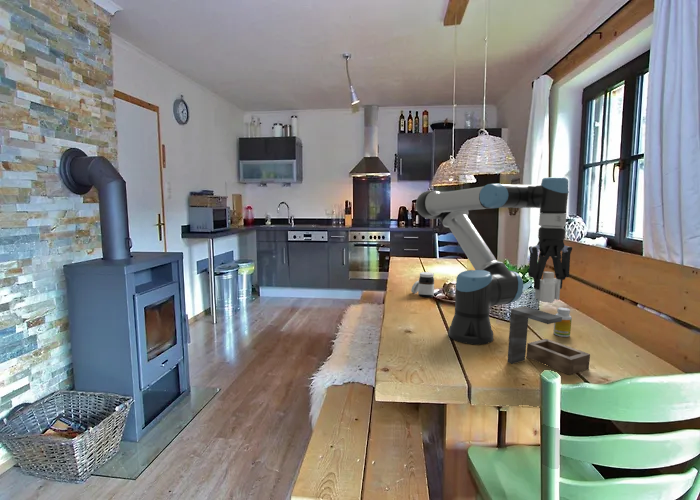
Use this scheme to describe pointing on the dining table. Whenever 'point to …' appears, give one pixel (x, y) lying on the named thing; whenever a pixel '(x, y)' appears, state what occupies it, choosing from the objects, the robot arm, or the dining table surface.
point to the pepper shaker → (548, 287)
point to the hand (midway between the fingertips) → (547, 298)
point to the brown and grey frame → (542, 344)
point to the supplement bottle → (563, 323)
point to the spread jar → (424, 285)
